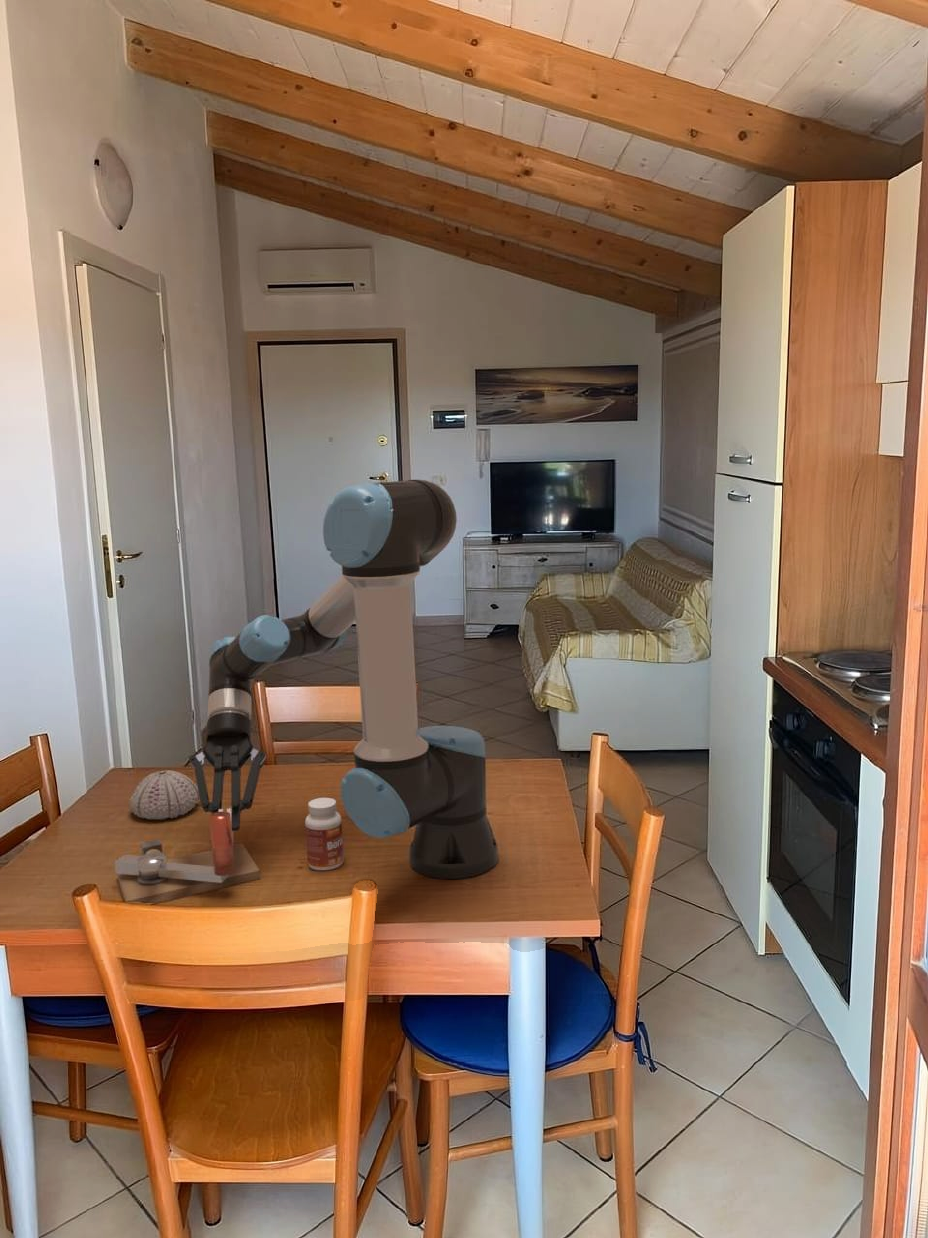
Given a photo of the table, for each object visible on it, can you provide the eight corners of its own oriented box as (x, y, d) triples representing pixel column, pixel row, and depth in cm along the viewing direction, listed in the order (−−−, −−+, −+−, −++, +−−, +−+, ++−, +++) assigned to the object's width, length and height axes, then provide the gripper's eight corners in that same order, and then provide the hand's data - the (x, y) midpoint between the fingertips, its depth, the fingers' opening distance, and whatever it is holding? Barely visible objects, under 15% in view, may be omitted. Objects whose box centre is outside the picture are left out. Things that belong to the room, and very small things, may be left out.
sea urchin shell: (170, 828, 177) (166, 788, 176) (114, 819, 182) (110, 780, 181) (214, 803, 189) (211, 765, 188) (161, 794, 194) (158, 758, 193)
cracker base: (127, 910, 146) (124, 883, 146) (116, 873, 159) (113, 848, 158) (260, 878, 156) (258, 853, 155) (239, 846, 168) (237, 822, 167)
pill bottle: (332, 874, 157) (329, 811, 154) (300, 869, 159) (296, 807, 157) (350, 858, 162) (347, 798, 160) (319, 853, 164) (315, 793, 162)
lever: (112, 875, 153) (105, 812, 151) (128, 863, 157) (122, 802, 155) (227, 886, 148) (222, 821, 146) (240, 874, 152) (235, 810, 150)
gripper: (271, 727, 169) (270, 854, 156) (193, 732, 167) (186, 861, 155) (266, 707, 163) (264, 838, 150) (185, 712, 161) (177, 845, 148)
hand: (224, 849), depth 152 cm, fingers closed, pressing on lever
